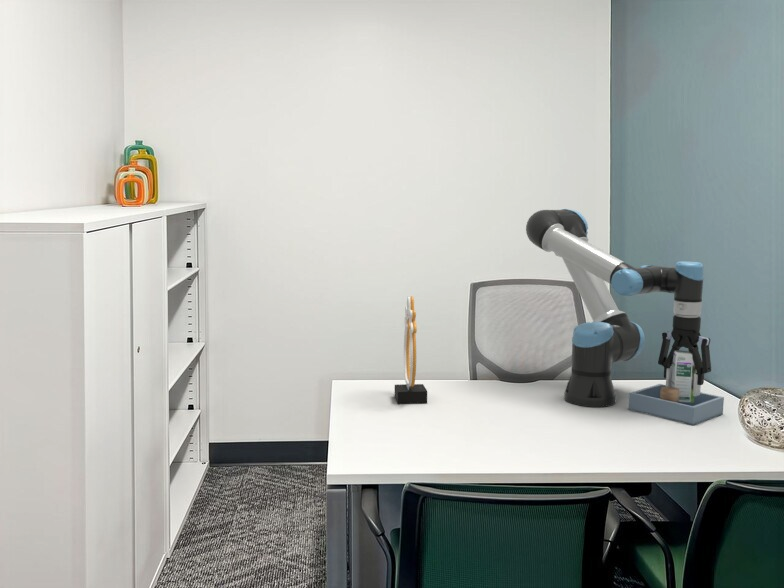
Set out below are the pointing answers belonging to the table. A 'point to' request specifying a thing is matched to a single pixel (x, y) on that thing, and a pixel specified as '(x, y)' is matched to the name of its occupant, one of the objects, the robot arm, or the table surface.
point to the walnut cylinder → (669, 394)
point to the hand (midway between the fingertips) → (682, 392)
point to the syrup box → (683, 375)
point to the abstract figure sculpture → (410, 362)
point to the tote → (676, 406)
